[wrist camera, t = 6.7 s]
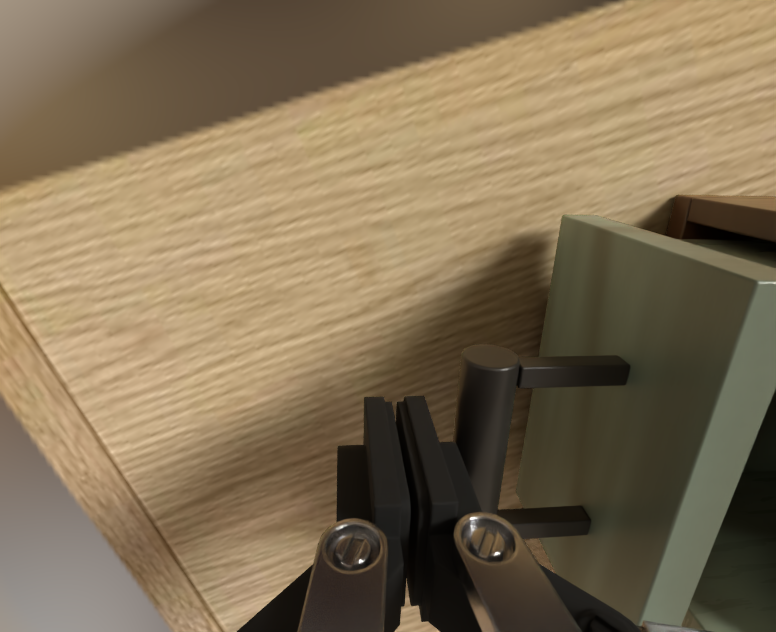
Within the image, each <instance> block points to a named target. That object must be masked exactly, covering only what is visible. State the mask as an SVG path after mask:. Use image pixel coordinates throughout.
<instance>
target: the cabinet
mask: <svg viewBox="0 0 776 632" xmlns="http://www.w3.org/2000/svg"><path fill="white" fill-rule="evenodd" d="M666 236H668V237H671V238H674V239H702V240H767V241H771V242H775V243H776V197H771V196H716V195H677V196H676V197H675V201H674V205H673V209H672V213H671V216H670V220H669V224H668V228H667V232H666Z"/></svg>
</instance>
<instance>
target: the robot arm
mask: <svg viewBox="0 0 776 632" xmlns="http://www.w3.org/2000/svg"><path fill="white" fill-rule="evenodd" d="M406 578H407V584H408V591H409V598H410V603H411V606H417V605H419V609H420V615H421V621H422V622H425V621H429V623H430V624H432V625H433V626H434V627H435V628H437V629H438V630H439V631H440V632H713V631H707V630H701V629H694V628H688V627H682V626H676V625H669V624H663V623H657V622H650V621H644V620H643V623H642V625H641V626H638V625H635V624H634V623H633V622H632V621H631V620H630V619H628V618H627V617H626V616H624V615H623V614H621V613H620V612H619V611H617V610H615V609H614V608H612V607H610V606H609V605H607V604H605V603H604V602H602V601H600V600H599V599H597V598H595V597H594V596H592V595H590V594H589V593H587V592H585V591H583V590H582V589H580V588H578V587H577V586H575V585H573V584H572V583H570V582H568V581H567V580H565V579H563V578H562V577H560V576H558V575H557V574H555V573H553V572H552V571H550V570H548V569H547V568H545V567H543V566H542V565H540V564H539V563H538V562H537V560H536V559H535V557H534V556H533V554H532V552H531V551H530V549H529V548H528V546H527V545H526V543H525V541H524V540H523V538H522V537H521V535H520V533H519V532H518V531H517V530H516V528H515V527H514V526H513V525H512V524H511V523H509V522H508V521H507V520H505V519H504V518H502V517H500V516H497V515H495V514H492V513H486V512H482V510H481V507H480V504H479V502H478V499H477V496H476V494H475V491H474V488H473V486H472V483H471V480H470V478H469V475H468V473H467V470H466V467H465V465H464V462H463V459H462V457H461V454H460V451H459V449H458V446H457V444H456V443H455V442H439V440H438V437H437V434H436V431H435V427H434V424H433V421H432V418H431V415H430V412H429V409H428V406H427V403H426V400H425V397H424V396H405V397H404V401H399V402H397V406H396V422H395V416H394V411H393V406H392V402H385V400H384V397H364V442H363V445H346V446H338V451H337V520H336V523H335V524H333V525H332V526H330V527H328V529H327V530H326V531H325V532H324V533H323V534H322V536H321V538H320V541H319V543H318V547H317V551H316V555H315V559H314V563H313V565H312V566H311V567H309V568H308V569H307V570H306V571H305V572H304V573H303V574H301V575H300V576H299V577H298V578H297V579H296V580H295V581H294V582H292V583H291V584H290V585H289V586H288V587H287V588H286V589H284V590H283V591H282V592H281V593H280V594H279V595H278V596H277V597H275V598H274V599H273V600H272V601H271V602H270V603H269V604H267V605H266V606H265V607H264V608H263V609H262V610H261V611H259V612H258V613H257V614H256V615H255V616H254V617H253V618H252V619H250V620H249V621H248V622H247V623H246V624H245V625H244V626H242V627H241V628H240V629H239V630H238V631H237V632H394V631H395V630H396V629H397V627H398V626H399V625H400V614H401V607H403V606H404V605H405V591H406Z"/></svg>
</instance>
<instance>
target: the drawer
mask: <svg viewBox="0 0 776 632" xmlns="http://www.w3.org/2000/svg"><path fill="white" fill-rule="evenodd" d="M516 386H518V388H533V391H532V397H531V403H530V409H529V415H528V421H527V427H526V433H525V439H524V445H523V451H522V457H521V463H520V469H519V475H518V480H517V486H516V494H517V496H518V498H519V500H520V502H521V504H522V506H523V508H522V509H504V510H498V504H499V497H500V491H501V484H502V478H503V471H504V464H505V458H506V451H507V445H508V438H509V432H510V425H511V419H512V412H513V405H514V399H515V392H516ZM453 442H455V443H456V444H457V446H458V449H459V451H460V454H461V457H462V459H463V462H464V465H465V467H466V470H467V473H468V475H469V478H470V480H471V483H472V486H473V488H474V491H475V494H476V496H477V499H478V502H479V504H480V507H481V510H482V512H486V513H492V514H495V515H497V516H500V517H502V518H504V519H505V520H507V521H508V522H509V523H511V524H512V525H513V526H514V527H515V528H516V530H517V531H518V532H519V533H520V535H521V537H522V538H523V539H535V538H539V540H540V542H541V544H542V546H543V548H544V550H545V552H546V554H547V556H548V558H549V560H550V562H551V564H552V566H553V568H554V570H555V572H556V574H557V575H558V576H560V577H562V578H563V579H565V580H567V581H568V582H570V583H572V584H573V585H575V586H577V587H578V588H580V589H582V590H583V591H585V592H587V593H589V594H590V595H592V596H594V597H595V598H597V599H599V600H600V601H602V602H604V603H605V604H607V605H609V606H610V607H612V608H614V609H615V610H617V611H619V612H620V613H621V614H623V615H624V616H626V617H627V618H628V619H630V620H631V621H632V622H633V623H634V624H635V625H638V626H641V625H642V623H643V620H644V621H650V622H657V623H663V624H669V625H676V626H682V627H688V628H694V629H701V630H707V631H713V632H776V243H775V242H771V241H767V240H702V239H674V238H671V237H668V236H664V235H661V234H657V233H654V232H651V231H647V230H644V229H641V228H637V227H634V226H630V225H627V224H624V223H620V222H617V221H613V220H610V219H607V218H603V217H600V216H597V215H563V216H562V219H561V225H560V231H559V237H558V243H557V249H556V255H555V261H554V267H553V273H552V279H551V285H550V291H549V297H548V302H547V308H546V314H545V320H544V326H543V332H542V338H541V344H540V350H539V356H538V357H518V356H517V354H515V353H514V352H513V351H511V350H509V349H507V348H504V347H501V346H497V345H490V344H477V345H472V346H469V347H467V348H465V349H464V350H463V352H462V353H461V361H460V372H459V382H458V392H457V402H456V413H455V423H454V433H453Z"/></svg>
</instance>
